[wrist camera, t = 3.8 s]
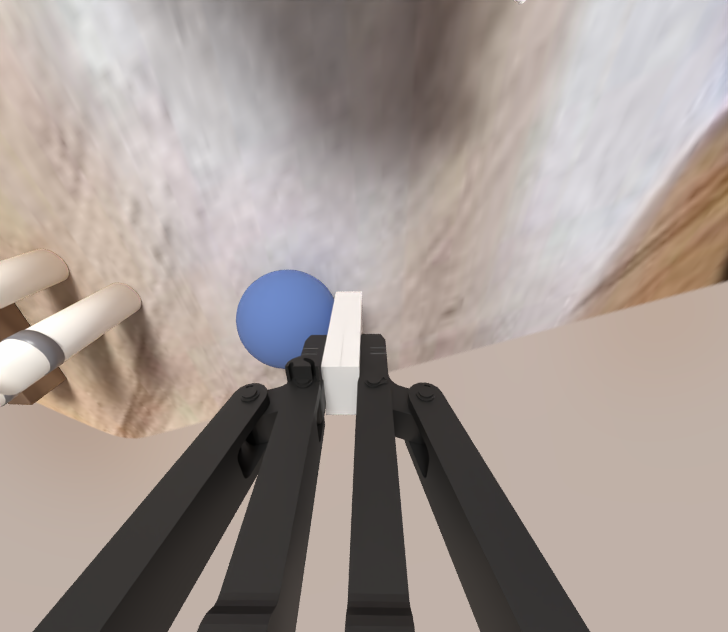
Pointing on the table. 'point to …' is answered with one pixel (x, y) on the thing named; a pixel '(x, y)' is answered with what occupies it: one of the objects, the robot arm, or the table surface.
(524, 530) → the robot arm
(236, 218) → the table surface
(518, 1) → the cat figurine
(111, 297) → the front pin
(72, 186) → the table surface
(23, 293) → the pin
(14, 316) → the back wall
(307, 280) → the ball
